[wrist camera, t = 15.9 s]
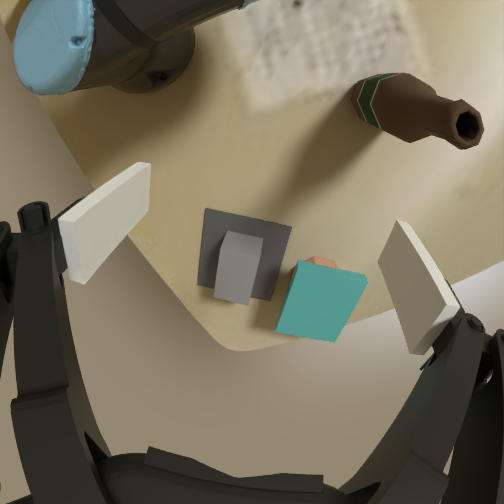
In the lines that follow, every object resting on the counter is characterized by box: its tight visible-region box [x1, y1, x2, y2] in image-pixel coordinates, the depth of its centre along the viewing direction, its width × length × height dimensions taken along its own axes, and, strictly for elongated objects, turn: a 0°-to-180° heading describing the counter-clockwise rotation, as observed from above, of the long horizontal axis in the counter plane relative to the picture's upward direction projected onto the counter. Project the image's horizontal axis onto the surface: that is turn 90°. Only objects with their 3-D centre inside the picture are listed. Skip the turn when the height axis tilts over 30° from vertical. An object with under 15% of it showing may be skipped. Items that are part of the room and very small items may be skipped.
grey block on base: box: [198, 208, 292, 305], centre depth 49 cm, size 14×16×6 cm
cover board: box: [275, 260, 368, 342], centre depth 46 cm, size 11×14×2 cm
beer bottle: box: [351, 73, 484, 149], centre depth 24 cm, size 8×8×24 cm
